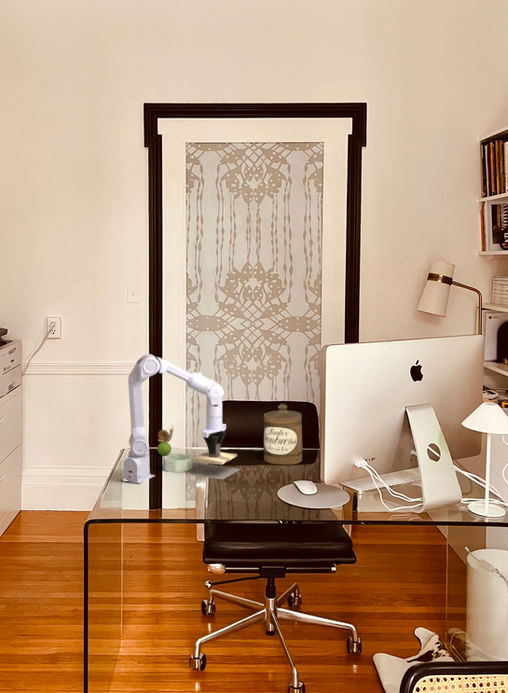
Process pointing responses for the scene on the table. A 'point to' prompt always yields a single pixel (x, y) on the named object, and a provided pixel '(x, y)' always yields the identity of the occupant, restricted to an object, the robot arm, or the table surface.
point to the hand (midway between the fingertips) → (214, 452)
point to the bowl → (177, 462)
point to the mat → (214, 472)
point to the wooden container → (283, 436)
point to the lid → (215, 457)
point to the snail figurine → (164, 442)
